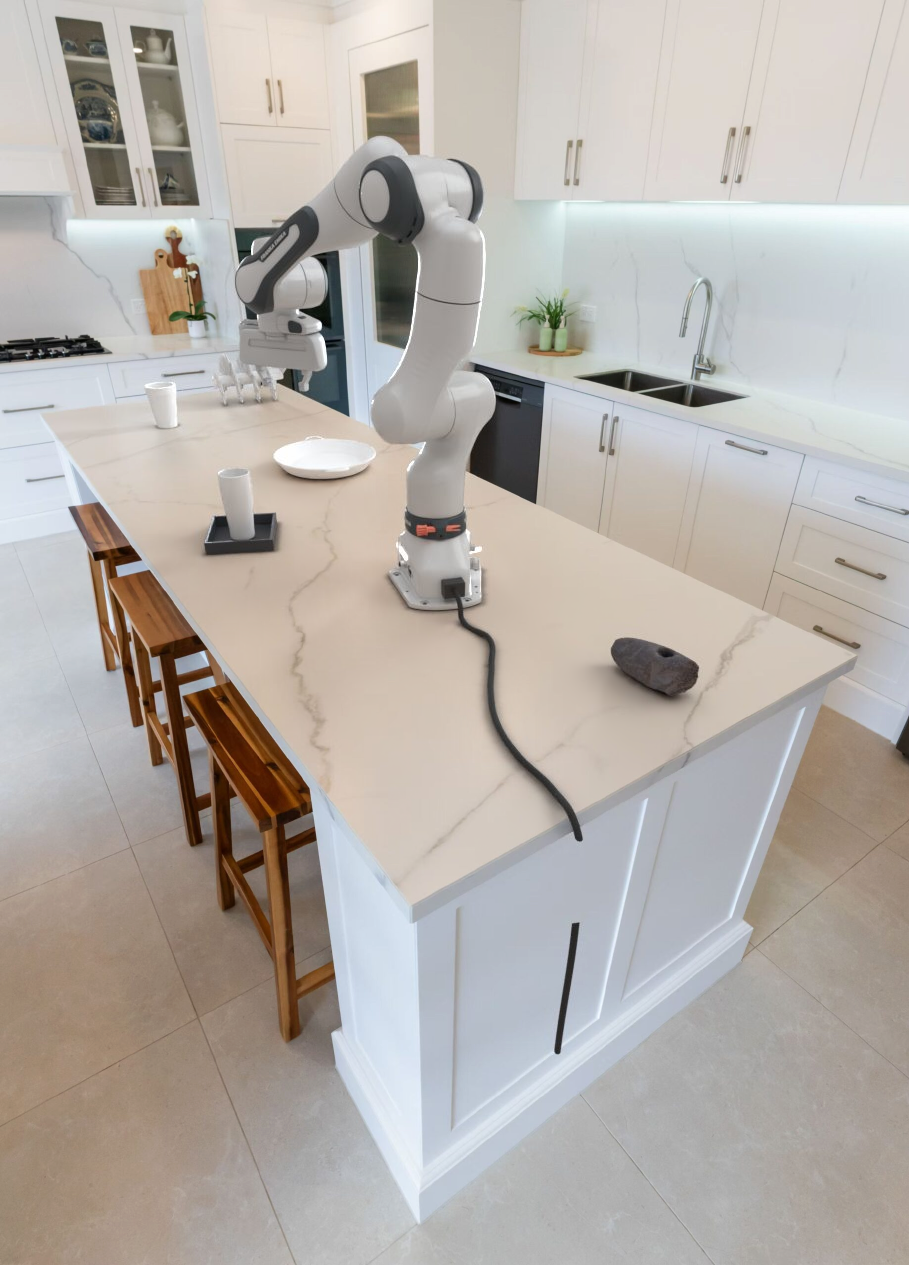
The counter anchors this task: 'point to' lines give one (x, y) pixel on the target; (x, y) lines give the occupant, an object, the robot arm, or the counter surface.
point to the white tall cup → (237, 502)
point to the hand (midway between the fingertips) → (285, 388)
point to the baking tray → (224, 544)
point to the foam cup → (163, 403)
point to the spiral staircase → (243, 377)
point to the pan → (324, 458)
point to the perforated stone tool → (655, 665)
